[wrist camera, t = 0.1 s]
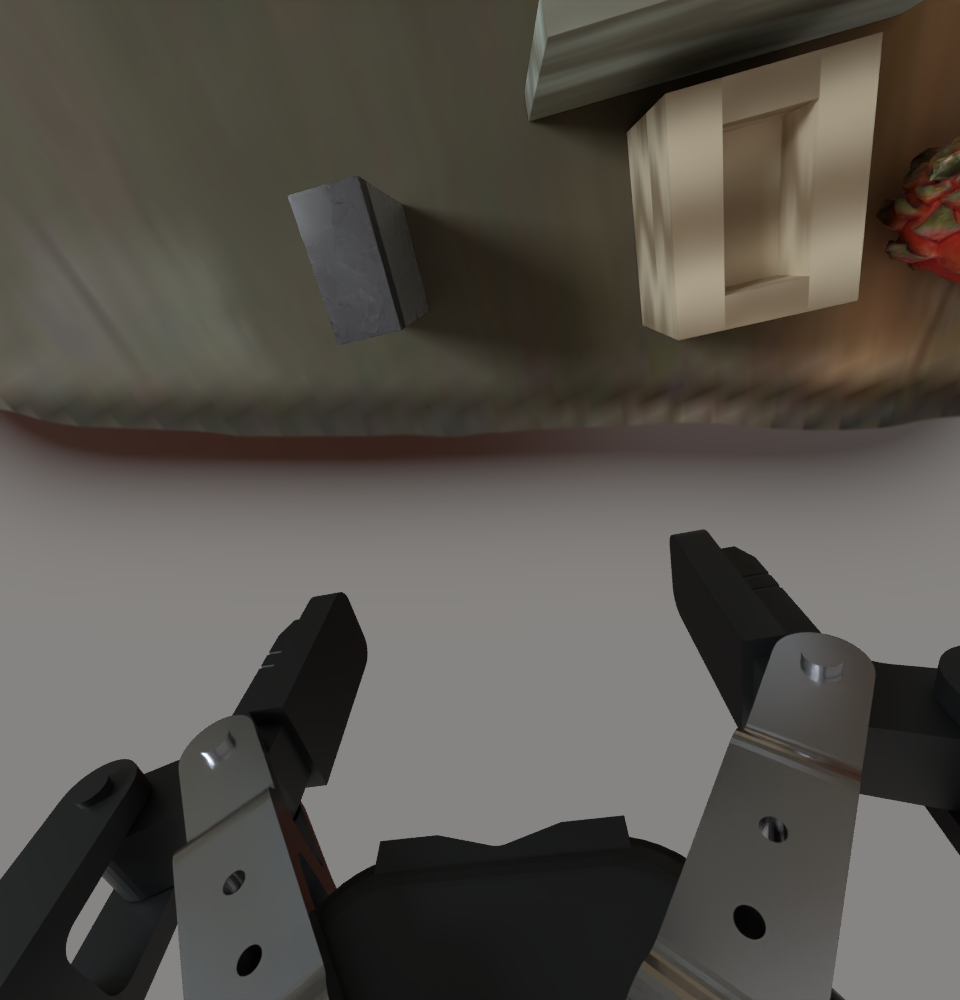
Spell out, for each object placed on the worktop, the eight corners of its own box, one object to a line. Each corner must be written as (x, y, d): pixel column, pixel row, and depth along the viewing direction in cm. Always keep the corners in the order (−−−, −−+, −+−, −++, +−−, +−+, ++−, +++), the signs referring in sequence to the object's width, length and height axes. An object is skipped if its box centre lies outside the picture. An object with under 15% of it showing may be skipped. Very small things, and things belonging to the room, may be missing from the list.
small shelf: (524, 92, 31) (541, -13, 19) (904, -20, 28) (1197, -224, 16) (562, 343, 37) (592, 380, 26) (873, 272, 34) (1067, 277, 23)
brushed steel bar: (354, 217, 34) (287, 195, 23) (402, 203, 34) (357, 175, 23) (384, 321, 37) (338, 345, 26) (429, 310, 37) (401, 330, 26)
